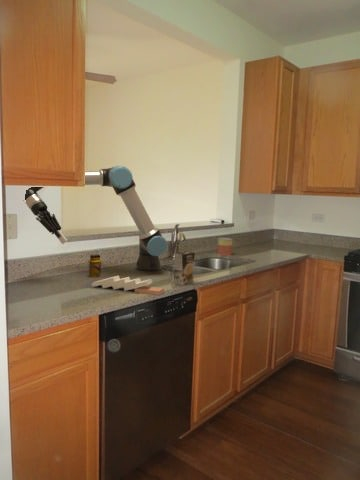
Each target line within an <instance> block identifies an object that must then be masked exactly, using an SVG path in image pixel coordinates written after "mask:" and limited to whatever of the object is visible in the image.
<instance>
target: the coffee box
mask: <svg viewBox="0 0 360 480" xmlns="http://www.w3.org/2000/svg"><path fill="white" fill-rule="evenodd" d="M195 254H196V253H195V252H192V251H187V250H185V251H179V252H174V263H173V264H174V265H173V282H172V283H173V284H175V285H180V286H185V285H190V284H193V283H194V278H195V277H194V275H195V274H194V273H195Z"/></svg>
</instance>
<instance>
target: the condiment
mask: <svg viewBox="0 0 360 480" xmlns="http://www.w3.org/2000/svg"><path fill="white" fill-rule="evenodd" d="M88 265H89V266H88V270H89V271H88V272H89V273H88V276H89V277H90V278H100V277H102V260H101V255H100V254H97V253H96V254H90V255H89V264H88Z"/></svg>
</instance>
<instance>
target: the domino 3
mask: <svg viewBox="0 0 360 480" xmlns="http://www.w3.org/2000/svg"><path fill="white" fill-rule="evenodd" d="M141 281H142V280H141V277H136V278H133V279H130V281H128V282H126V283H122V284H118V285H114V286H112V287H113V290H114V289H118V288H122V287H126V286H130V285H134V284H137V283H139V282H141Z"/></svg>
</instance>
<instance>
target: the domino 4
mask: <svg viewBox="0 0 360 480" xmlns="http://www.w3.org/2000/svg"><path fill="white" fill-rule="evenodd" d="M151 284H153V280H152V278H149V279H144V280H141V282H139V283H137V284H134V285H130V286H126V287H124V290H125V291H126V290H130V289H134V288H139V287H143V286H149V285H151Z"/></svg>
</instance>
